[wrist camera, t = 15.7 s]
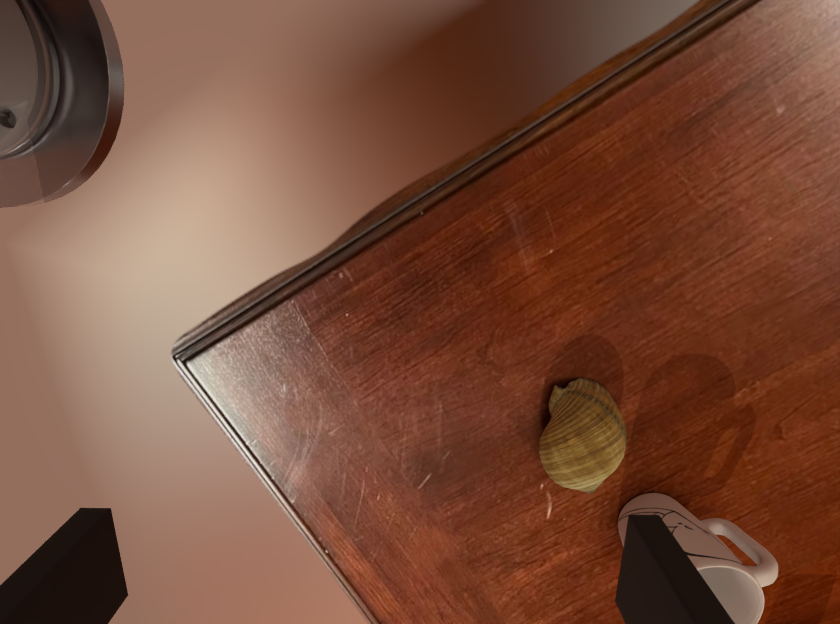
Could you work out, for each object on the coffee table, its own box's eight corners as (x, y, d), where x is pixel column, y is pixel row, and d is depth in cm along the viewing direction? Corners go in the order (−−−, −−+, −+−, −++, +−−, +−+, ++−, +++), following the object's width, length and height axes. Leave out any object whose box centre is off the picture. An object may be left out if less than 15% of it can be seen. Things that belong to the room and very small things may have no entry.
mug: (724, 469, 44) (807, 551, 35) (725, 542, 46) (804, 638, 37) (601, 489, 45) (650, 574, 35) (608, 560, 47) (656, 658, 38)
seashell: (547, 370, 46) (504, 407, 40) (617, 360, 41) (579, 400, 35) (581, 461, 47) (544, 509, 41) (655, 462, 42) (623, 517, 36)
